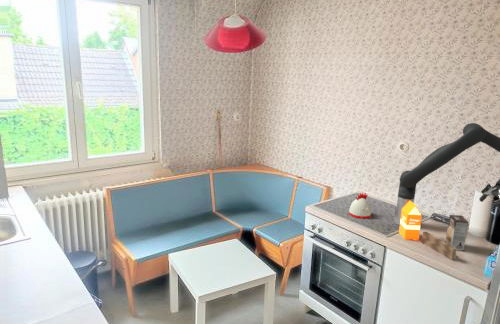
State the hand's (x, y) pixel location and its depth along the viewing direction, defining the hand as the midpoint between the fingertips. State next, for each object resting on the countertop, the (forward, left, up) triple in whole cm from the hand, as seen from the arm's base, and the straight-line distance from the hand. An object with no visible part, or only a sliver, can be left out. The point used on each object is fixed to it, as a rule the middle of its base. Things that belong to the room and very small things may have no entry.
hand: (487, 203), depth 182 cm
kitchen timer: (-51, -42, -23) cm, 70 cm away
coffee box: (0, -17, -23) cm, 29 cm away
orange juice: (-16, -33, -23) cm, 44 cm away
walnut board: (+2, -30, -23) cm, 38 cm away
